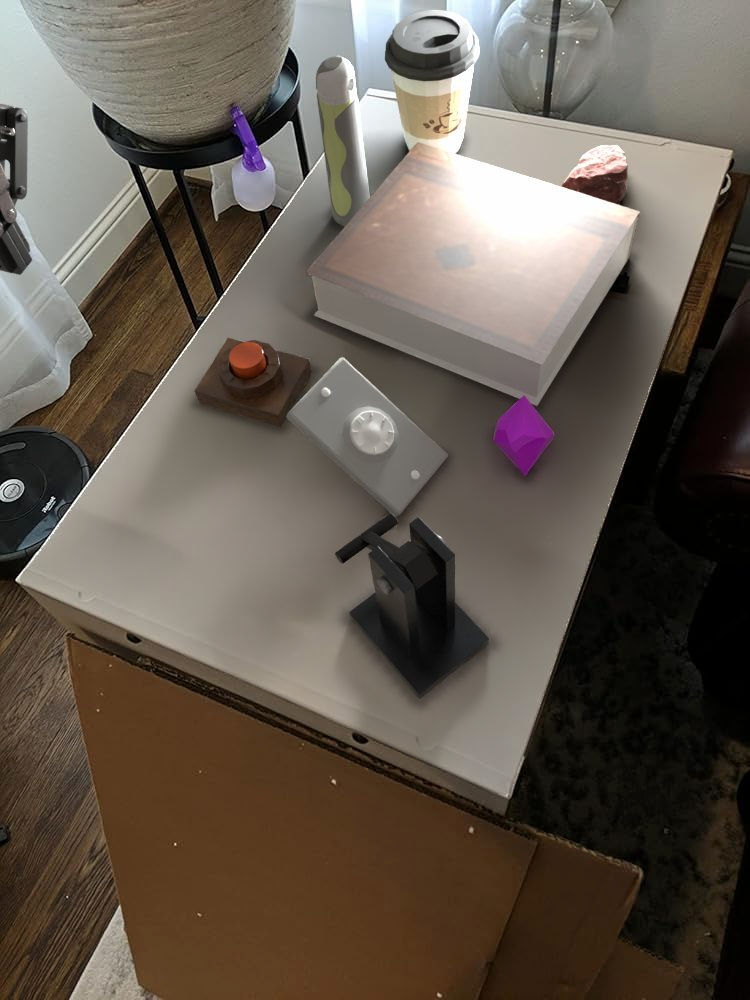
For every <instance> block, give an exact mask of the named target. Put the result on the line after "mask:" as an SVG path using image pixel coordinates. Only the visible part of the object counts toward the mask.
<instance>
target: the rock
mask: <svg viewBox="0 0 750 1000" xmlns="http://www.w3.org/2000/svg"><path fill="white" fill-rule="evenodd" d="M625 155H626V153H625V151H624V150H622V148H621V147H620V146H619V145H617V144H613V145H607V144H605V145H604V144H602V145H599V146H596V147H594V148H592V149H590V150H588V151H586V152H585V153H584V154H582V156H581V157H580V158H579V159H578V164H577V166H575V167H574V168H573V169H572V170H571V171H570V172H569V173H568V175H567V176H566V178H565V180H564V181H563V182H562V184H561V185H560V187H563V188H566V189H569V190H573V191H576V192H579V193H582V194H585V195H589V196H592V197H595V198H598V199H601V200H605V201H608V202H611V203H614V204H617V205H620V203H621V201H622V200H623V199H624V198H625V196H626V193H627V190H628V186H627V181H628V179H629V178H628V177H629V176H628V175H629V165H628V159H627V157H626V156H625Z"/></svg>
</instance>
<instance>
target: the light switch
mask: <svg viewBox="0 0 750 1000" xmlns="http://www.w3.org/2000/svg"><path fill="white" fill-rule="evenodd" d="M286 417H287V419H286V420H288V421H289V422H290V423H291V424H292V425H293V426H295V427H296V429H297V430H299V431H300V432H301V433H302V434H303V435H304V436H305V437H306V438H308V439H309V440H310V441H311V442H312V443H313V444H314V445H315V446H317V448H318V449H320V450H321V451H322V452H323V453H324V454H325V455H326V456H328V458H330V459H331V461H333V462H334V463H335V464H336V465H337V466H338V467H339V468H341V469H342V471H344V472H345V473H346V474H347V475H348V476H350V477H351V478H352V480H354V481H355V482H356V483H357V484H358V485H359V486H360V487H362V489H364V491H366V492H367V493H368V494H369V495H370V496H371V497H372V498H373V499H375V500H376V501H377V502H378V503H379V504H380V505H381V506H382V507H383V508H384V509H385V510H387V512H389V513H392V514H393V515H394V516H395V517H398V516H400V515H402V513H403V512H404V510H405V509H407V507H408V505H410V503H411V502H412V501H413V500H414V498H415V497H416V496H418V494H419V492H420V491H421V490H422V489H423V487H425V485H426V484H427V483H428V481H429V480H430V479H431V478H432V477H433V476H434V474H435V473H436V472H437V471H438V469H439V468H440V467H441V466H442V465H443V463H444V462H445V461H446V459H448V456H449V455H448V453H447V452H446V451H445V450H444V449H442V447H441V446H440V445H439V444H438V443H436V442H435V440H433V439H432V438H431V437H430V436H429V435H428V434H427V433H426V432H425V431H423V430H422V429H421V428H420V427H419V426H418V425H417V424H416V423H415V422H414V421H413V420H411V418H409V416H407V414H405V413H404V412H403V411H402V410H401V409H400V408H398V406H396V405H395V404H394V403H393V402H392V401H391V400H390V399H389V398H388V397H387V396H385V395H384V393H382V392H381V391H380V390H379V389H378V388H377V387H376V386H375V385H374V384H373V383H371V381H369V379H368V378H367V377H365V376H364V375H363V374H362V373H361V372H360V371H359V370H358V369H357V368H356V367H354V366H353V365H352V364H351V363H350V362H349V361H348V360H347V359H346V358H345V357H343V356H342V357H340V358H338V360H337V361H336V362H335V363H334V364H333V365H332V366H331V367H329V369H328V370H327V371H326V372H325V373H324V374H323V375H322V377H320V378H319V380H318V381H317V382H315V383H314V385H313V386H312V387H311V388H310V389H309V390H308V391H307V392H306V393H305V394H304V395H303V396H302V397H301V398H300V399H299V401H297V402H296V403H295V404H294V406H293V408H292V409H291V410H290V411H289V412H288V414H287V416H286Z"/></svg>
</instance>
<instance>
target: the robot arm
mask: <svg viewBox="0 0 750 1000" xmlns="http://www.w3.org/2000/svg"><path fill="white" fill-rule="evenodd" d="M28 132H29V117H28V112H27V111H26V109H24V108H22V107H17V106H14V105H9V104H4V103H0V271H1V272H5V273H8V274H15V275H18V276H20V275H23V273H24V272H25V270H26V269H28V266H30V264H31V263H32V262H33V257H32V256H31V254H30V252H31V248H30V247H31V246H30V243H29V242H28V239H27V238H26V236H25V234H24V232H23V230H22V228H21V226H20V225H19V222H18V221H17V218H18V217H17V216H18V211H17V208H16V204H17V201H18V200H24V199H26V197H27V193H28V147H29V145H28V141H29V140H28V139H29V138H28V137H29V136H28V135H29V133H28ZM6 161H8V163H9V178H7V175H6Z"/></svg>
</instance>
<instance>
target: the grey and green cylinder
mask: <svg viewBox="0 0 750 1000" xmlns="http://www.w3.org/2000/svg"><path fill="white" fill-rule="evenodd" d="M356 86H357V84H356V76H355V70H354V66H353V65H352V64H351V62H350V61H349V60H348V59H347V58H344V57H342V56H341V55H333V56H330V57H327V58H326V59H324V60H323V61H322V62H320V65H319V66H318V68H317V70H316V74H315V90H317V93H316V100H317V108H318V115H319V116H318V117H319V124H320V130H321V140H322V145H323V146H322V147H323V154H324V161H325V169H326V175H327V184H328V191H329V200H330V206H331V214H332V218H333V220H334V221H335V222H336V223H337V224H339V225H340V226H343V227H345V226H346V225H347V224H348V223H349V221H350V220H351V219H352V218H353V217H354V216H355V214H356V213H357V212H358V211H359V210H360V208H361V207H362V206H363V205H364V204H365V203H366V201H367V200H368V199H369V198H370V197H371V195H370V187H369V185H370V184H369V178H368V170H367V160H366V153H365V144H364V136H363V128H362V120H361V111H360V104H359V103H360V102H359V97H358V94H357V87H356Z"/></svg>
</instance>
